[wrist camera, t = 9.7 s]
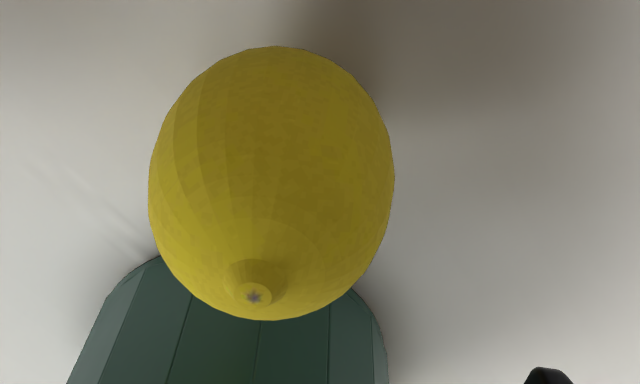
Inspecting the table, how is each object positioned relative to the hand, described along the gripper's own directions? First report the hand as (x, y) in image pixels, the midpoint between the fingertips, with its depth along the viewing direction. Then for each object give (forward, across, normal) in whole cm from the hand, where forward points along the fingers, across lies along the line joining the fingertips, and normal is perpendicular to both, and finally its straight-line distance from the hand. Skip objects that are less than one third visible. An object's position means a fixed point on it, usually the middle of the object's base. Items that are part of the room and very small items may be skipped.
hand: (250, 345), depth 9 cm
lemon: (+10, 0, 0) cm, 10 cm away
